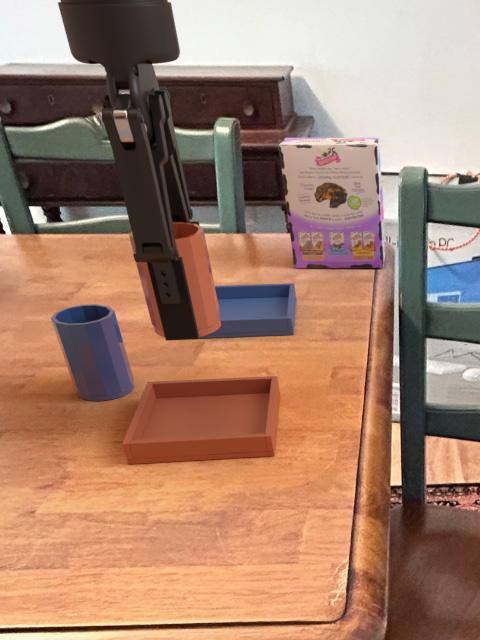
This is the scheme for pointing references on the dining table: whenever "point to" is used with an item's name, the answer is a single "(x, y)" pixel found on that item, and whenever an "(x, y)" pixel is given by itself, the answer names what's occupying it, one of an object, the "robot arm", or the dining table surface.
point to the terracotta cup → (197, 275)
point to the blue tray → (255, 310)
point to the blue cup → (94, 351)
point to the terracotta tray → (204, 420)
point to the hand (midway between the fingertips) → (187, 324)
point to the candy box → (334, 201)
